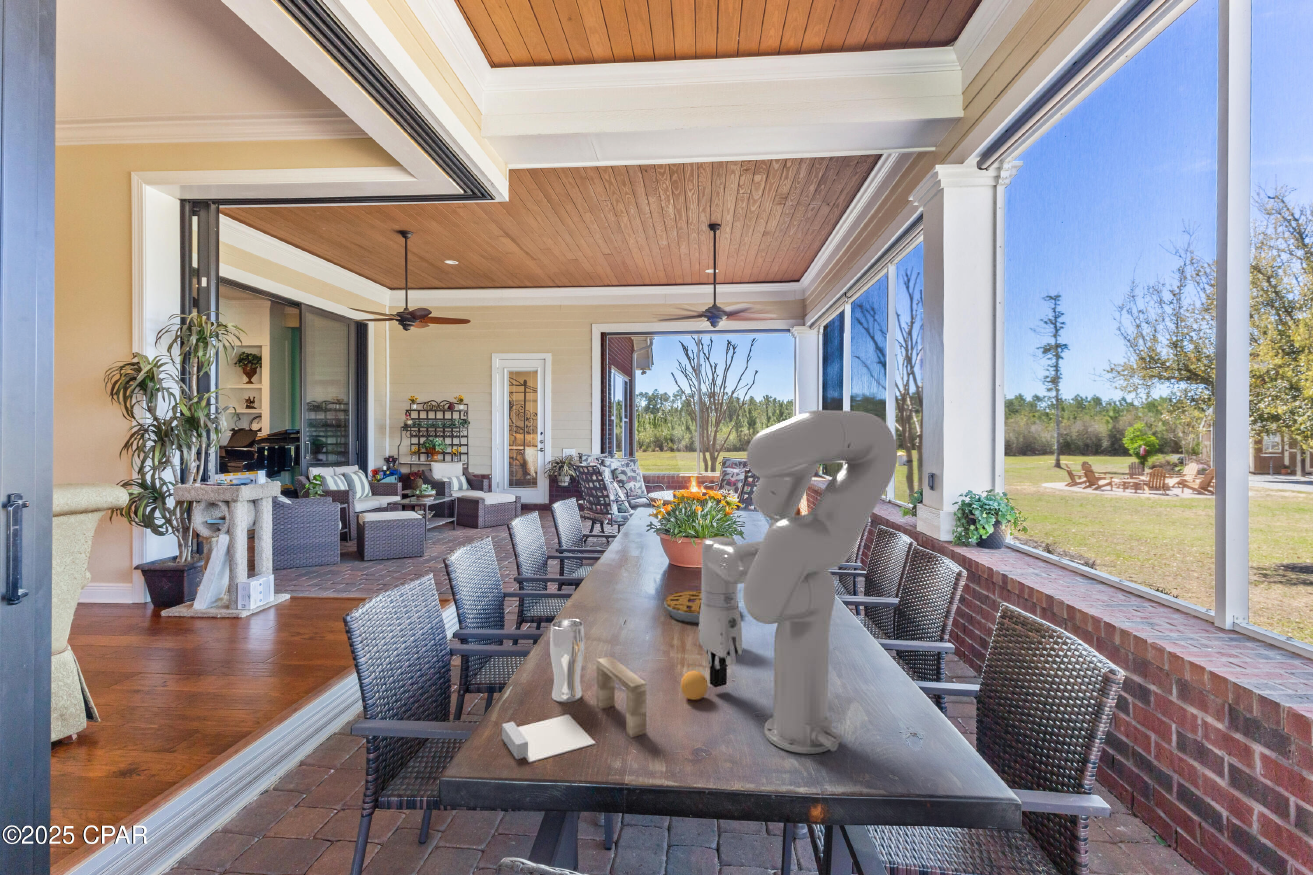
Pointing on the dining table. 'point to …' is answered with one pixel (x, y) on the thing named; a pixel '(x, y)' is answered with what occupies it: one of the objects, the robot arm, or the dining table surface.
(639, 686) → the bridge
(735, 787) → the dining table surface
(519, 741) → the stopper wall
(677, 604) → the pie
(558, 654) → the beer glass
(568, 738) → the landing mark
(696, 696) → the ball
